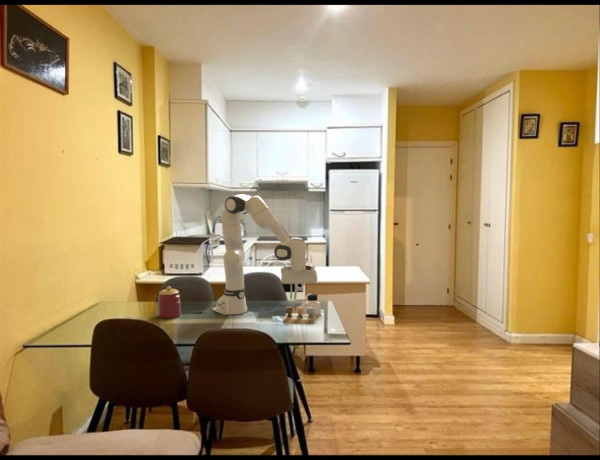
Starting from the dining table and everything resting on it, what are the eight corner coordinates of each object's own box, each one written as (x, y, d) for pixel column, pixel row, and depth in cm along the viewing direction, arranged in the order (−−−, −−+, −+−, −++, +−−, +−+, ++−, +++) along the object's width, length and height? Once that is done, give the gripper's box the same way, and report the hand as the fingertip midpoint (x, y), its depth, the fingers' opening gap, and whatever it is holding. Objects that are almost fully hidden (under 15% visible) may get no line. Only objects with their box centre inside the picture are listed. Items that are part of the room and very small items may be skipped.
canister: (169, 311, 243) (168, 283, 242) (185, 314, 238) (185, 285, 236) (153, 317, 232) (152, 287, 230) (170, 320, 226) (169, 289, 225)
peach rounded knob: (295, 317, 222) (295, 308, 222) (297, 315, 226) (297, 306, 226) (302, 317, 221) (302, 308, 221) (304, 315, 225) (303, 306, 225)
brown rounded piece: (285, 316, 223) (285, 308, 223) (286, 314, 227) (286, 306, 227) (292, 317, 222) (292, 308, 222) (293, 315, 226) (293, 306, 226)
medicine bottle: (320, 314, 235) (320, 294, 234) (313, 316, 230) (312, 296, 229) (311, 311, 240) (311, 292, 239) (304, 314, 235) (303, 294, 234)
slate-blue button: (306, 317, 221) (306, 308, 221) (307, 315, 225) (307, 306, 225) (313, 317, 220) (313, 309, 220) (314, 315, 224) (314, 307, 224)
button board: (283, 322, 219) (283, 318, 219) (287, 316, 231) (287, 312, 231) (313, 323, 216) (313, 320, 216) (316, 317, 228) (316, 314, 228)
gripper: (279, 267, 220) (280, 292, 221) (315, 267, 217) (316, 291, 218) (281, 265, 226) (282, 289, 227) (317, 265, 223) (318, 289, 224)
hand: (299, 290), depth 222 cm, fingers closed
